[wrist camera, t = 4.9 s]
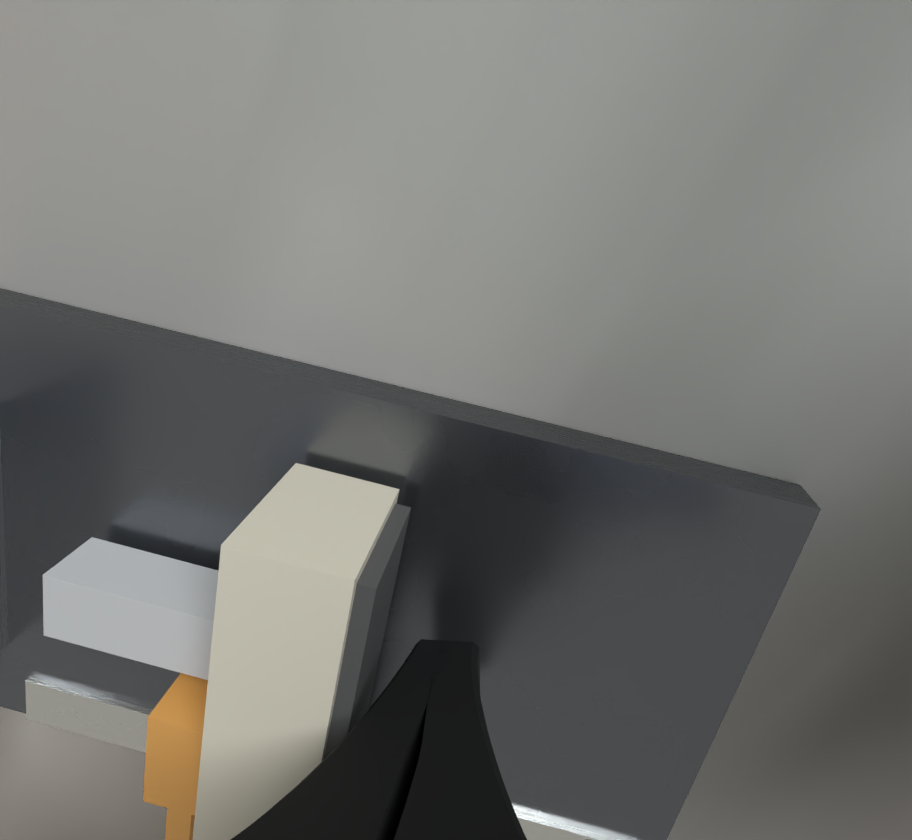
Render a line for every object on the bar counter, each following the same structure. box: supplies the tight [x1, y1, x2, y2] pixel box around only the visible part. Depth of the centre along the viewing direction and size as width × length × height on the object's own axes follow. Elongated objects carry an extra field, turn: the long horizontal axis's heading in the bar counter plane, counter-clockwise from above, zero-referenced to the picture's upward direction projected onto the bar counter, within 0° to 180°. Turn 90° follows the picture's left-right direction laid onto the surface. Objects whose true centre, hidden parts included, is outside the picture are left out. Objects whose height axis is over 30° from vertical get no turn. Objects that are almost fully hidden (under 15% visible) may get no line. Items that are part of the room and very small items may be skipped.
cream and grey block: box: [43, 463, 411, 840], centre depth 12 cm, size 6×7×3 cm
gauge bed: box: [0, 288, 821, 840], centre depth 12 cm, size 18×10×5 cm, turn 78°
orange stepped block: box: [143, 673, 208, 840], centre depth 14 cm, size 2×4×2 cm, turn 168°
